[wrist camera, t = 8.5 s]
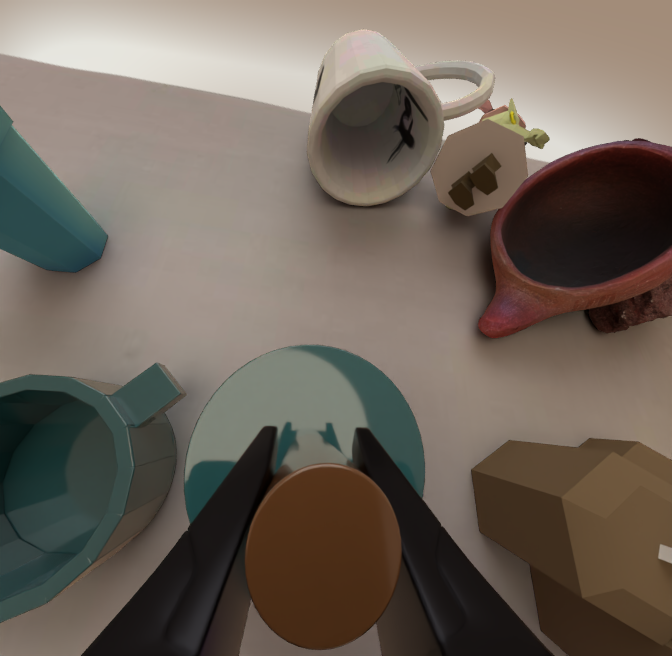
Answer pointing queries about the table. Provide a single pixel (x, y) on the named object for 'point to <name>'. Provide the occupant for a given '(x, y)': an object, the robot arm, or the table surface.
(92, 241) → the cup
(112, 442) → the pan
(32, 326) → the table surface
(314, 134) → the mug
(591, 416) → the table surface
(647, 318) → the rock
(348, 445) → the pan lid
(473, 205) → the figurine
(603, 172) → the bowl
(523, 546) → the candle
